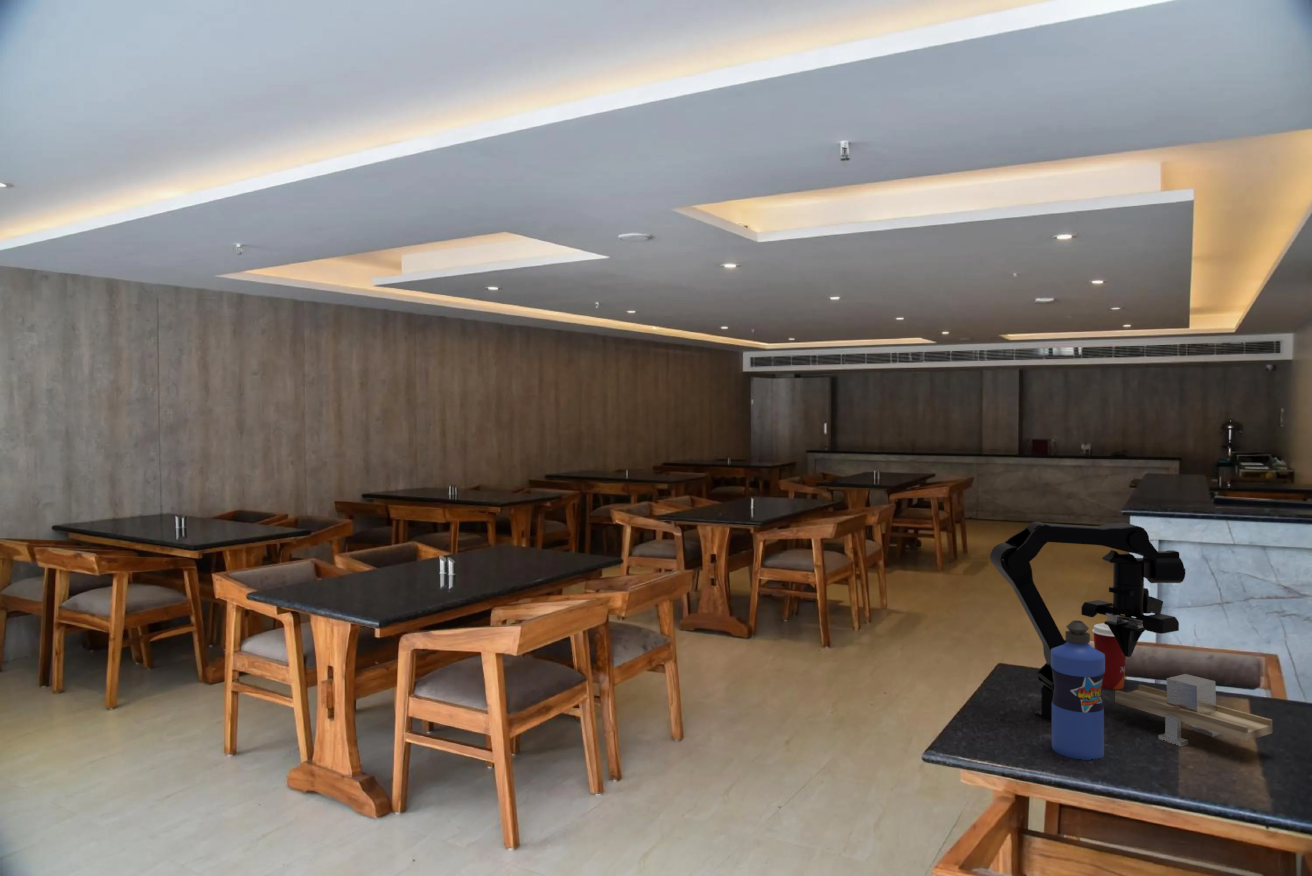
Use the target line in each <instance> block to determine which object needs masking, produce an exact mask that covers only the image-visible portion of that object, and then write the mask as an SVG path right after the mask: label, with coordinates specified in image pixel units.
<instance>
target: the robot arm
mask: <svg viewBox="0 0 1312 876" xmlns="http://www.w3.org/2000/svg"><path fill="white" fill-rule="evenodd" d="M1047 543H1056V544H1057V543H1058V544H1059V543H1060V544H1075V545H1089V546H1090V545H1091V546H1103V547H1105V548H1106V547H1107V548H1109V549H1110V548H1111V550H1109V552H1108V553H1107V554H1105V555H1103V557H1102V560H1103V561H1105V562H1108V563H1109V564H1112V571H1113V573H1112V574H1113V575H1112V577H1113V578H1112V581H1113V583H1112V586H1109V587H1108V592H1109V593H1112V602H1109V601H1106V600H1105V601H1104V600H1100V599H1095V600H1090V601H1084V602H1083V604H1082V605H1081V607H1080V608H1081V609H1080V611H1081V612H1080V613H1081V616H1085V617H1087V618H1094V617H1096V616H1097V615H1098V614H1099V615H1103V616H1106V620H1105V621H1104V623H1105V625H1108V627H1109V628H1110V630H1111V631H1112V633H1113V635H1114V636H1115V638H1116V640H1117V642H1118V644H1119V646H1120V648H1121V650H1122V652H1123V654H1124V656H1126V658H1130V657H1132V655H1133V653H1134V651H1135V648H1136V647H1137V644H1138V641H1139V639H1140V638H1141V636H1142V635H1143V633H1144V632H1145V631H1146V632H1151V633H1155V634H1169V633H1173V632H1179V631H1180V622H1179V620H1178V619H1177V617H1176V616H1173V615H1168V614H1164V613H1162V609H1163V605H1164V601H1163V600H1161V599H1159V598H1157V597H1154V596H1152V595H1151V596H1150V592H1149V588H1147V587H1146V588H1145V579H1146V580H1147V581H1148V582H1149V583H1150V584H1181V583H1183V582H1184V580H1185V578H1186V568H1185V566H1184V562H1183V560H1182V558H1180V551H1178V550H1174V549H1173V550H1164V551H1162V550H1161V551H1158V550H1157V549H1156V547H1154V545H1153V544H1152V543H1151V541H1150V536H1149V533H1148V532H1147V530H1146V529H1145V528H1144V527H1142V526H1139V525H1135V524H1130V523H1128V522H1127V523H1126V522H1123V521H1122V522H1121V521H1120V522H1113V523H1106V524H1102V525H1095V526H1093V525H1080V524H1079V525H1077V524H1062V523H1046V522H1040V521H1033V522H1031V523H1030V524H1028V525H1027V526H1026V527H1025V528H1024V529H1022V530H1020V531H1019V532H1017V533H1015V534H1013V535H1012V536H1011V537H1009V538H1007V540H1005V541H1004V542H1001V543H999V544H996V545H995V546H994V547H993V548H992V550H991V552H990V554H989V558H990V561H991V564H992V565H993V566H994V567H995V569H996V570H997V571H998V573H999V574H1000V575H1001V576H1002V577H1003V578H1004V580H1006V581H1007V582H1008V584H1009V585H1010V586H1011V587H1012V589H1013V590H1014V593H1015V595H1016V596H1017V598H1018V600H1019V602H1020V603H1021V605H1022V607H1023V610H1024V611H1025V613H1026V615H1027V617H1028V619H1029V621H1030V622H1031V624H1032V626H1033V628H1034V630H1035V632H1036V634H1037V636H1038V637H1039V640H1040V641H1041V643H1042V649H1043V656H1044V659H1045V663H1044V665H1042V666H1041V667H1040V668H1039V669H1038V670H1037V671H1036V672H1035V674H1036V677H1037V681H1038V682H1039V683H1040V684H1042V685H1043V686H1042V687H1041V689H1040V691H1041V692H1040V694H1041V695H1040V696H1041V697H1040V699H1041V701H1040V702H1041V703H1040V704H1041V707H1040V708H1041V709H1040V710H1036V711H1034V713H1035V715H1037V716H1040V717H1042V718H1045V719H1047V720H1050V721H1052V699H1053V693H1054V681H1053V673H1052V668H1051V649H1052V648H1055V647H1058V646H1060V645H1063V644H1065V643H1066V642H1067V641H1066V640H1065V639H1064V637H1063V635H1062V633H1061V630H1060V629H1059V628H1058V625H1057V624H1056V621H1055V620H1054V618H1053V617H1052V614H1051V612H1050V611H1049V608H1048V607H1047V605H1046V603H1045V601H1044V599H1043V598H1042V596H1041V594H1040V592H1039V589H1038V588H1037V586H1036V585H1035V582H1034V576H1033V575H1034V574H1033V569H1032V566H1031V561H1032V560H1033V559H1035V558H1036V557H1037V555H1039V553H1040V552H1041V550H1042V549H1043V548H1044V546H1045V545H1046V544H1047ZM1113 549H1114V550H1113ZM1116 550H1119V551H1122V552H1127V553H1118V552H1117V551H1116ZM1133 554H1135V555H1137V556H1138V555H1139V556H1141V557H1135V556H1134V555H1133ZM1147 614H1148V615H1147Z"/></svg>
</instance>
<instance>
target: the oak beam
mask: <svg viewBox="0 0 1312 876" xmlns="http://www.w3.org/2000/svg"><path fill="white" fill-rule="evenodd" d="M1137 687H1138V689H1136V690H1132V691H1128V692H1125V691H1121V690H1120V689H1115V691H1114V700H1115V701H1114V703H1116V704H1118V705H1122V706H1126V707H1128V708H1132V709H1136V710H1139V711H1143V712H1146V713H1148V714H1152V715H1156V716H1159V717H1163V718H1165V715H1168V714H1171V715H1174V716H1177V717H1180V718H1181V725H1182V724H1186V725H1189V726H1191V725H1192V726H1196V727H1199V728H1203V729H1206V730H1209V731H1213V732H1216V733H1219V734H1220V735H1223V736H1226V737H1230V738H1234V739H1237V740H1240V741H1244V742H1248V741H1251V740H1255V739H1258V738H1261V737H1264V736H1267V735H1271V734H1273V719H1271V718H1267V717H1263V716H1260V715H1256V714H1252V713H1249V712H1245V711H1242V710H1237V709H1233V708H1230V707H1226V706H1223V705H1218V704H1216V712H1213V713H1209V714H1206V715H1204V714H1200V713H1197V712H1193V711H1190V710H1186V709H1183V708H1181V707H1179V706H1172V705H1168V704H1167V690H1162V689H1159V688H1156V687H1152V686H1147V685H1144V684H1138V686H1137Z"/></svg>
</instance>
